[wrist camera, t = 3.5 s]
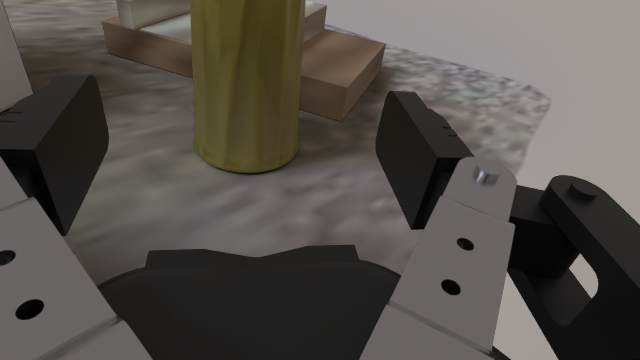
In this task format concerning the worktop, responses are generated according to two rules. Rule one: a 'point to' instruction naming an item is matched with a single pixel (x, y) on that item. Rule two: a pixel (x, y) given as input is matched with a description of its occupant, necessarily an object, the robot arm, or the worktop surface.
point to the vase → (246, 81)
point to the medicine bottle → (11, 67)
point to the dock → (317, 58)
